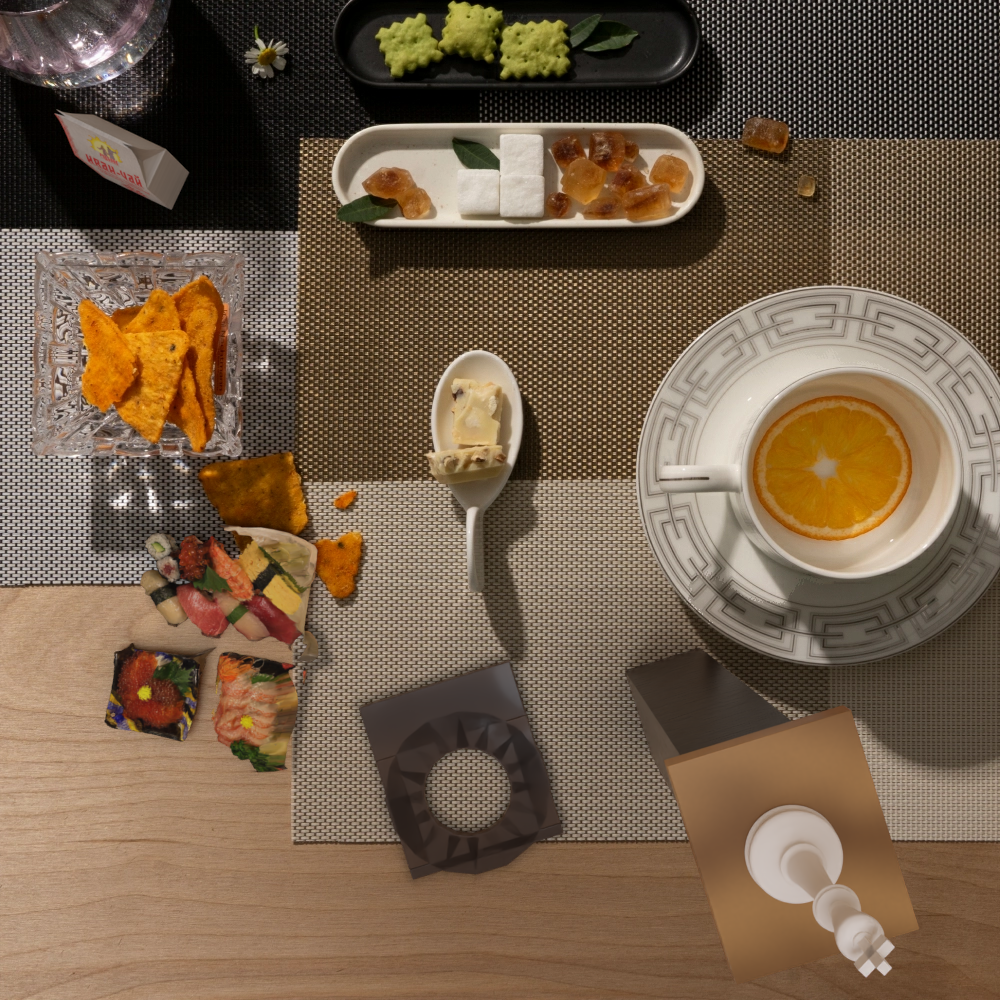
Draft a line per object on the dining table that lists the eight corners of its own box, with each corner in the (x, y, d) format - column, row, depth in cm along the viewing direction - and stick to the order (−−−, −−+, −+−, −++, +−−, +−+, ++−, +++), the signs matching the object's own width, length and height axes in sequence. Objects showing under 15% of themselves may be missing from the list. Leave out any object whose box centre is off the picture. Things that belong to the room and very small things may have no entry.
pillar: (722, 728, 70) (872, 891, 41) (648, 751, 71) (746, 930, 42) (696, 644, 70) (827, 748, 41) (622, 667, 71) (701, 787, 42)
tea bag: (128, 146, 71) (65, 89, 61) (194, 178, 71) (143, 126, 61) (111, 183, 71) (45, 132, 61) (177, 214, 71) (122, 169, 61)
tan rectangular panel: (910, 919, 41) (920, 929, 40) (730, 973, 42) (735, 985, 41) (843, 704, 41) (851, 709, 40) (663, 759, 42) (667, 766, 41)
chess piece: (724, 853, 41) (795, 970, 31) (789, 784, 40) (881, 879, 30) (794, 918, 41) (887, 1056, 31) (859, 849, 40) (973, 965, 30)
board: (568, 836, 71) (570, 846, 69) (417, 882, 71) (414, 894, 69) (511, 655, 71) (511, 660, 69) (360, 702, 71) (356, 708, 69)
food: (153, 501, 71) (134, 501, 67) (353, 543, 71) (345, 545, 67) (104, 737, 71) (83, 749, 68) (304, 779, 71) (293, 794, 67)
